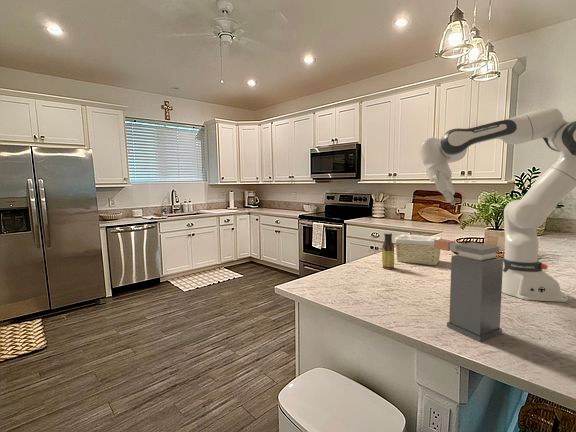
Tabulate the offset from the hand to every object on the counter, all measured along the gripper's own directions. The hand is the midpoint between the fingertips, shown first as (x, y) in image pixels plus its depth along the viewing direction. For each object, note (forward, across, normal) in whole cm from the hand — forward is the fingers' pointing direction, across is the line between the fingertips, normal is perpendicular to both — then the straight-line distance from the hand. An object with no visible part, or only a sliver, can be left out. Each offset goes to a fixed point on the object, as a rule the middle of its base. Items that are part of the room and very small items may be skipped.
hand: (451, 203), depth 128 cm
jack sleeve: (+45, -27, +5) cm, 53 cm away
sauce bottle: (+19, +27, +45) cm, 56 cm away
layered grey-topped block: (+40, -25, +7) cm, 48 cm away
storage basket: (+19, +51, +34) cm, 64 cm away
